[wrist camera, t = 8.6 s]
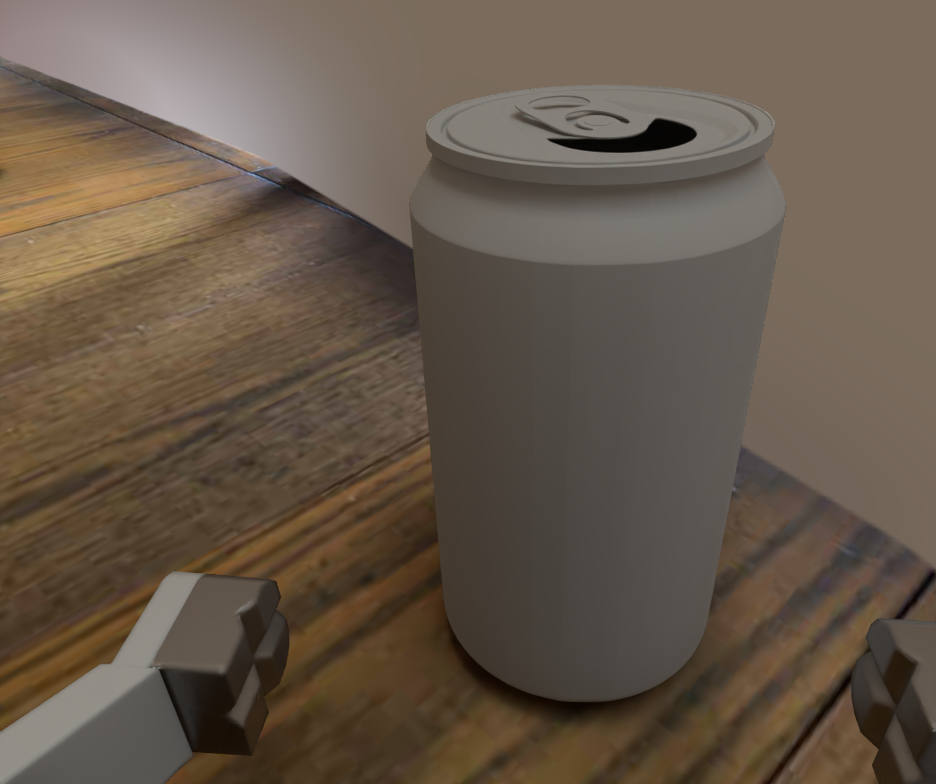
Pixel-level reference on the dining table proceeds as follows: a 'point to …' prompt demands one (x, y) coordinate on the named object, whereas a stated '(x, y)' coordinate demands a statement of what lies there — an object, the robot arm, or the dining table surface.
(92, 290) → the dining table surface
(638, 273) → the beverage can
